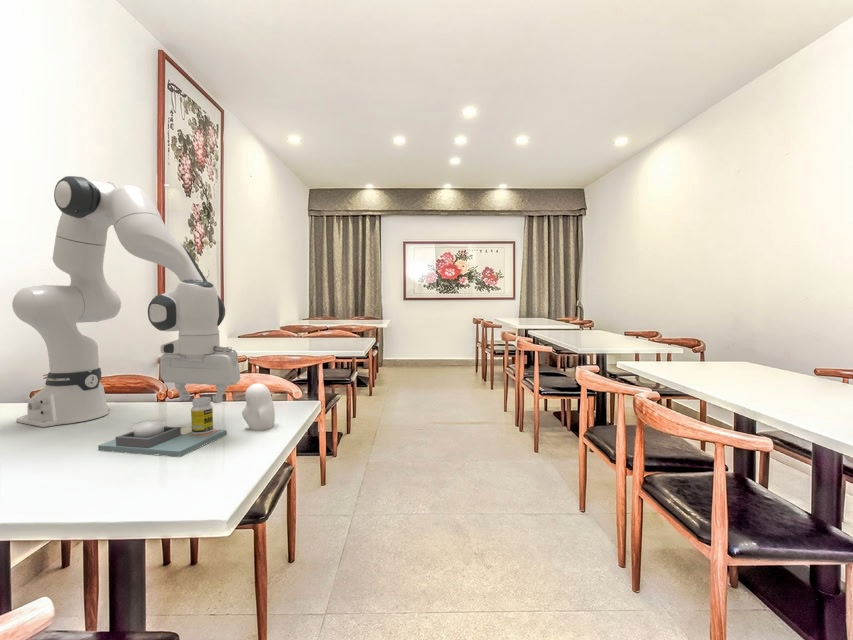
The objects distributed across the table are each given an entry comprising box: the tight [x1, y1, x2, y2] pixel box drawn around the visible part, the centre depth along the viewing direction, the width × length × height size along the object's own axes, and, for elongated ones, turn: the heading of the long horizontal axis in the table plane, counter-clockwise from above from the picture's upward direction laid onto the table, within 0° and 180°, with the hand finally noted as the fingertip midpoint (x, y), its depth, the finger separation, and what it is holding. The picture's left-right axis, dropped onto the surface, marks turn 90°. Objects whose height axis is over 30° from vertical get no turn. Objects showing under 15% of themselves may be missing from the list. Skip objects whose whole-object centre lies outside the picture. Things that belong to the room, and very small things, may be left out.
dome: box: [132, 419, 165, 438], centre depth 98 cm, size 6×6×4 cm
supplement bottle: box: [190, 396, 214, 435], centre depth 103 cm, size 5×5×8 cm
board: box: [97, 425, 228, 457], centre depth 100 cm, size 22×15×3 cm
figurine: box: [241, 383, 276, 431], centre depth 111 cm, size 7×8×12 cm
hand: (201, 401), depth 103 cm, fingers open, 8 cm apart
